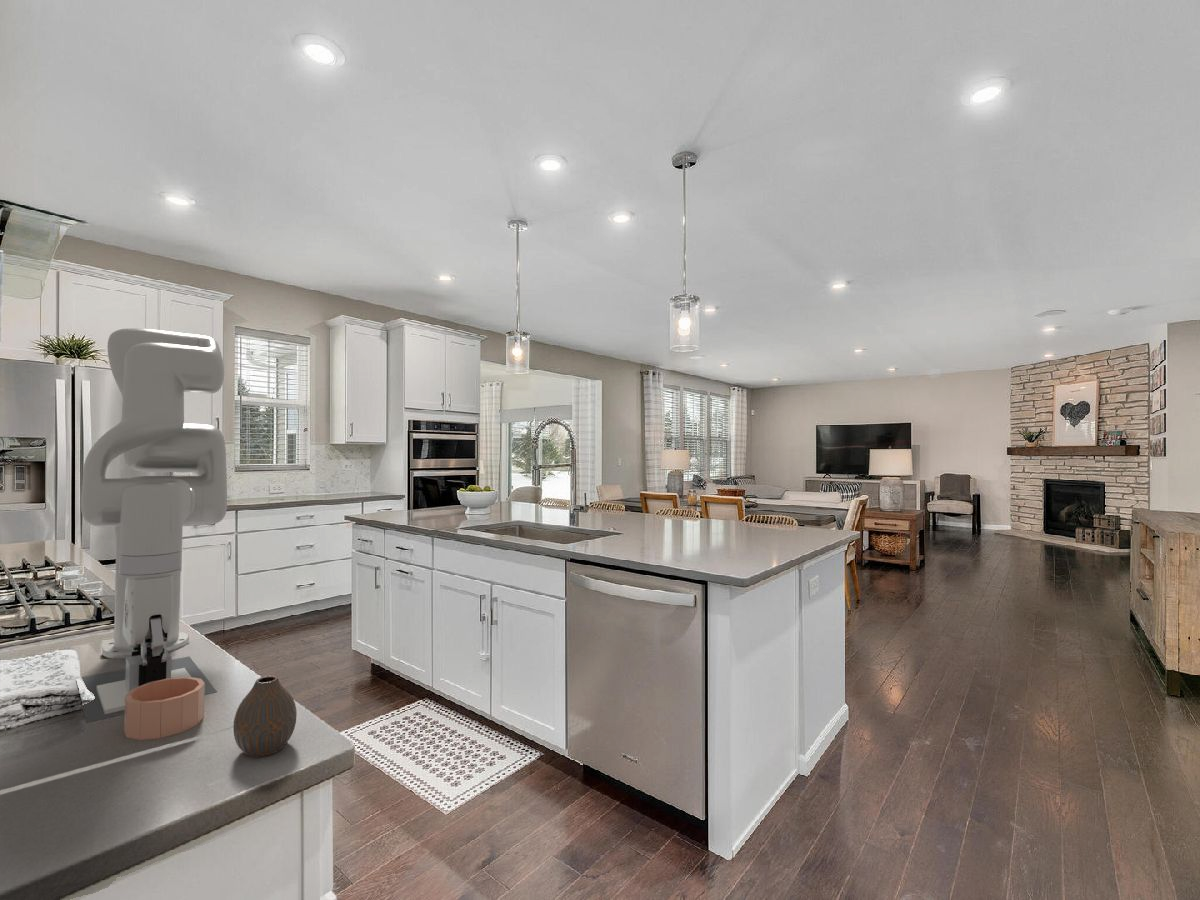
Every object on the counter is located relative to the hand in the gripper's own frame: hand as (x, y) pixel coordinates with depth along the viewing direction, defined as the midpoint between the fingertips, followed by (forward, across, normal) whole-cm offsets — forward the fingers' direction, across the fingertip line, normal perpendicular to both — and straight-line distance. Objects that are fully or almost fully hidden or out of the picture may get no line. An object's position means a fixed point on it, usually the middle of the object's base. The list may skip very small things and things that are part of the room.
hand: (148, 681), depth 89 cm
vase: (+2, +29, +8) cm, 30 cm away
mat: (+2, -3, 0) cm, 4 cm away
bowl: (+2, +14, 0) cm, 14 cm away
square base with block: (+1, 0, 0) cm, 1 cm away
